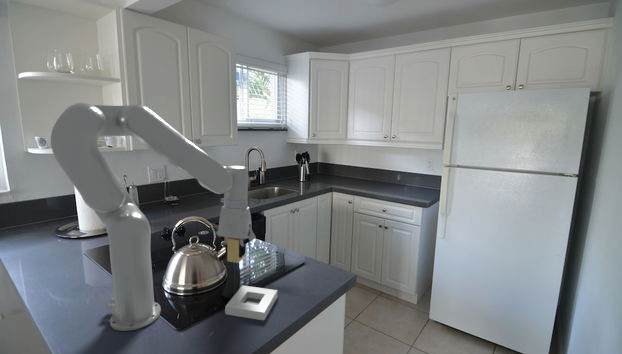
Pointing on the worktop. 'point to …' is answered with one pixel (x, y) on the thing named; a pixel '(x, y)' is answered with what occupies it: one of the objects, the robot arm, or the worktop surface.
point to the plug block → (233, 250)
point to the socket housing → (251, 302)
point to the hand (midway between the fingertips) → (235, 254)
